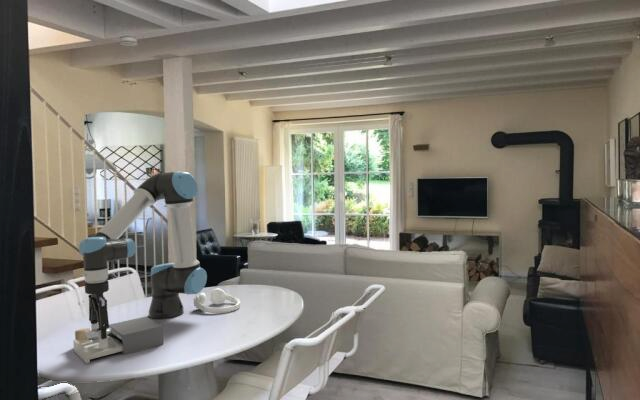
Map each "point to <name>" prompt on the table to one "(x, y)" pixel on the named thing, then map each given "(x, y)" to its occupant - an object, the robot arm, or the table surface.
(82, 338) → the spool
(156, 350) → the table surface
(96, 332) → the disc
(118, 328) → the housing
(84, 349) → the tray
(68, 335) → the table surface
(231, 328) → the table surface
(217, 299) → the headphones
